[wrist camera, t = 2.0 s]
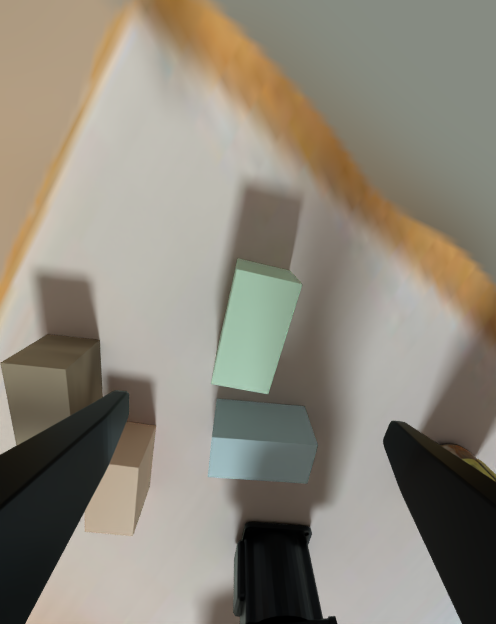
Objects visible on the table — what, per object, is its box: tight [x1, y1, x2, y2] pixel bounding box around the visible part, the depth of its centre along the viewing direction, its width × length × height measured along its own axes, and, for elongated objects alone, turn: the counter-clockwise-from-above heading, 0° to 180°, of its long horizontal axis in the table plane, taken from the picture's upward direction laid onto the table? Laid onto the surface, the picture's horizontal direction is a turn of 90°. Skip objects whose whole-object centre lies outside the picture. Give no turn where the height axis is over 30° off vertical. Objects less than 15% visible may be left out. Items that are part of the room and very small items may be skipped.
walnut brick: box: [1, 334, 103, 445], centre depth 18 cm, size 7×4×4 cm, turn 172°
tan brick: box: [85, 422, 156, 536], centre depth 20 cm, size 7×4×4 cm, turn 169°
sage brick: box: [211, 258, 302, 394], centre depth 17 cm, size 7×4×4 cm, turn 167°
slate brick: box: [208, 399, 318, 484], centre depth 20 cm, size 7×4×4 cm, turn 83°
